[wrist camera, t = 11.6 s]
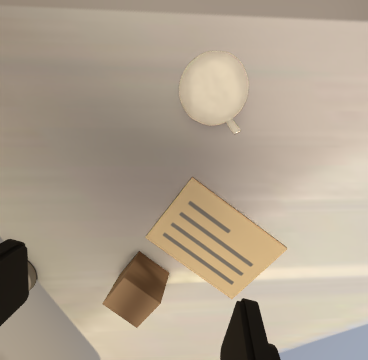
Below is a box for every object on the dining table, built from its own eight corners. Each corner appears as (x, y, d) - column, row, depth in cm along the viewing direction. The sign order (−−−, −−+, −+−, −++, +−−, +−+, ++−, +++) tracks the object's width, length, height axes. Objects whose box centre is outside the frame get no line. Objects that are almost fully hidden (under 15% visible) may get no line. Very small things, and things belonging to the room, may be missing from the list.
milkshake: (207, 138, 23) (203, 151, 13) (182, 92, 22) (159, 70, 12) (246, 116, 21) (274, 113, 12) (222, 67, 21) (232, 20, 11)
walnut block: (120, 274, 29) (102, 303, 24) (139, 250, 28) (124, 277, 23) (149, 294, 30) (136, 327, 25) (169, 272, 28) (160, 303, 23)
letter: (145, 236, 27) (145, 237, 27) (192, 177, 24) (191, 177, 24) (231, 297, 28) (231, 299, 27) (286, 247, 25) (287, 249, 24)
